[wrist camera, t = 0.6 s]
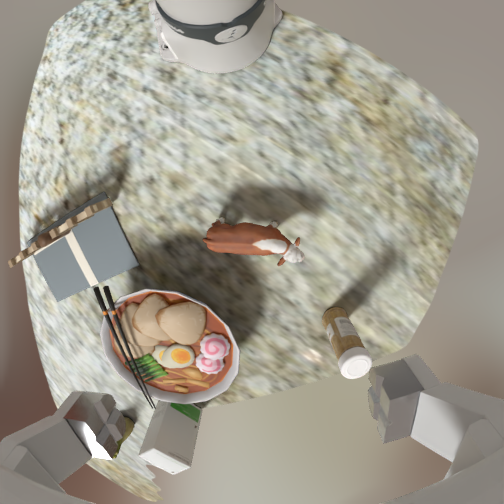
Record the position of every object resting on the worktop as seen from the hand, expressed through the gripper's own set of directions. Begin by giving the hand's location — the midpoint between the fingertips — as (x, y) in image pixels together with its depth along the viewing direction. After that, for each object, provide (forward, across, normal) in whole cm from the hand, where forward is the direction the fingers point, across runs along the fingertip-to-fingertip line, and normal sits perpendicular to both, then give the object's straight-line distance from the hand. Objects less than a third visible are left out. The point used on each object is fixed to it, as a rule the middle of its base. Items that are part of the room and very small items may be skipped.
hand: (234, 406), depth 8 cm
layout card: (+36, +31, -2) cm, 47 cm away
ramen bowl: (+38, +17, +15) cm, 44 cm away
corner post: (+35, +32, -6) cm, 48 cm away
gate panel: (+34, +25, -7) cm, 43 cm away
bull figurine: (+37, 0, +1) cm, 37 cm away
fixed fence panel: (+35, +38, -5) cm, 52 cm away
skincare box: (+40, +23, +35) cm, 57 cm away
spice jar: (+39, -10, +18) cm, 44 cm away
